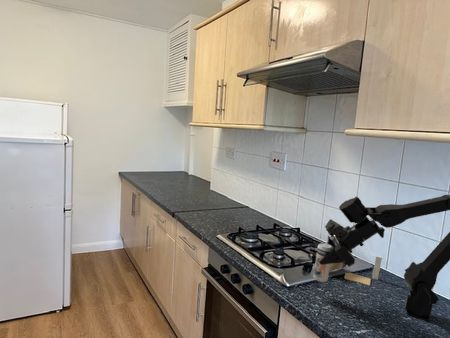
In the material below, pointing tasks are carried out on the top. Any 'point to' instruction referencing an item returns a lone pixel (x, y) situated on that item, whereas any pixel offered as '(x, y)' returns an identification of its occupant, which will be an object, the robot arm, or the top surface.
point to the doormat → (357, 278)
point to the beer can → (323, 270)
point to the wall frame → (376, 267)
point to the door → (335, 266)
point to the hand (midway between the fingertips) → (318, 260)
